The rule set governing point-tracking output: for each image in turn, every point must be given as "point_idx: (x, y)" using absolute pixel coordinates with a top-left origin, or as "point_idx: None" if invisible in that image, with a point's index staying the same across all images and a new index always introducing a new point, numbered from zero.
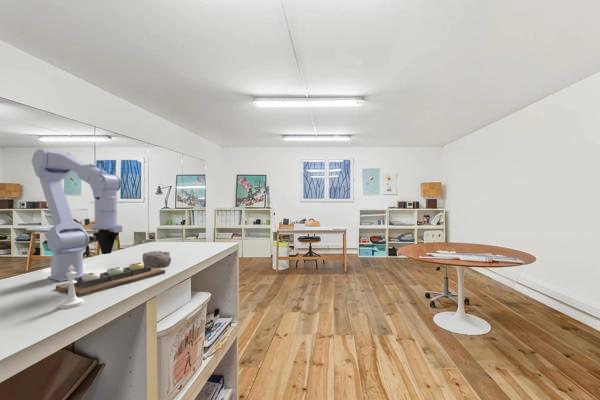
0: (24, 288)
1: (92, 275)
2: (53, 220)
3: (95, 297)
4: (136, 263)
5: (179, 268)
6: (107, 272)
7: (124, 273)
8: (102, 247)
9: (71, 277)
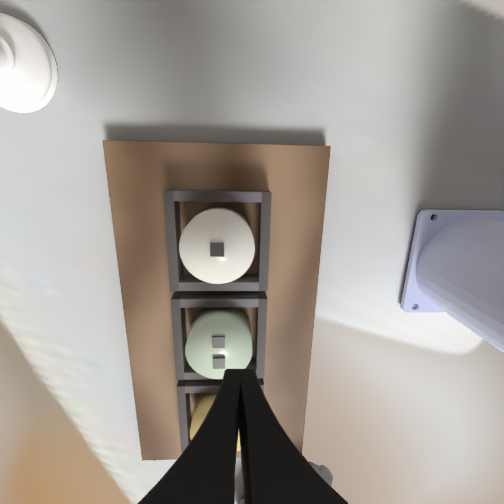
0: (474, 86)
1: (180, 238)
2: None
3: (40, 165)
4: None
5: None
6: (227, 316)
7: (175, 351)
8: (224, 399)
9: None
